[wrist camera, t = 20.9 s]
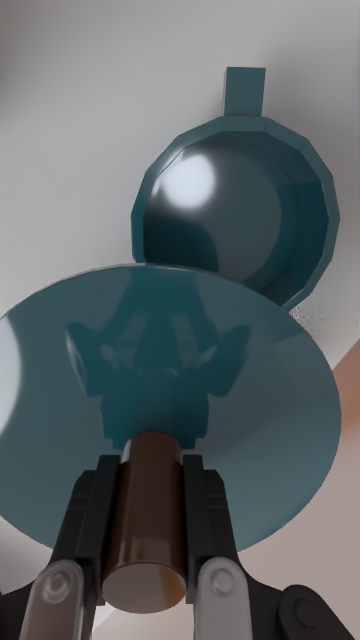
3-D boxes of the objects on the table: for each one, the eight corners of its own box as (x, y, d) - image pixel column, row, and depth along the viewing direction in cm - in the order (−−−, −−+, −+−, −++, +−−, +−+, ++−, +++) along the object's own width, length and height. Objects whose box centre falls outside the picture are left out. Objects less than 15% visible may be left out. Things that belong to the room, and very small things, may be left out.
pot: (142, 333, 30) (136, 361, 25) (134, 87, 23) (124, 58, 18) (289, 334, 31) (311, 361, 26) (328, 93, 23) (371, 66, 18)
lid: (7, 549, 16) (-73, 725, 11) (-77, 253, 11) (-339, 318, 5) (296, 544, 17) (355, 709, 12) (369, 263, 11) (560, 330, 6)
